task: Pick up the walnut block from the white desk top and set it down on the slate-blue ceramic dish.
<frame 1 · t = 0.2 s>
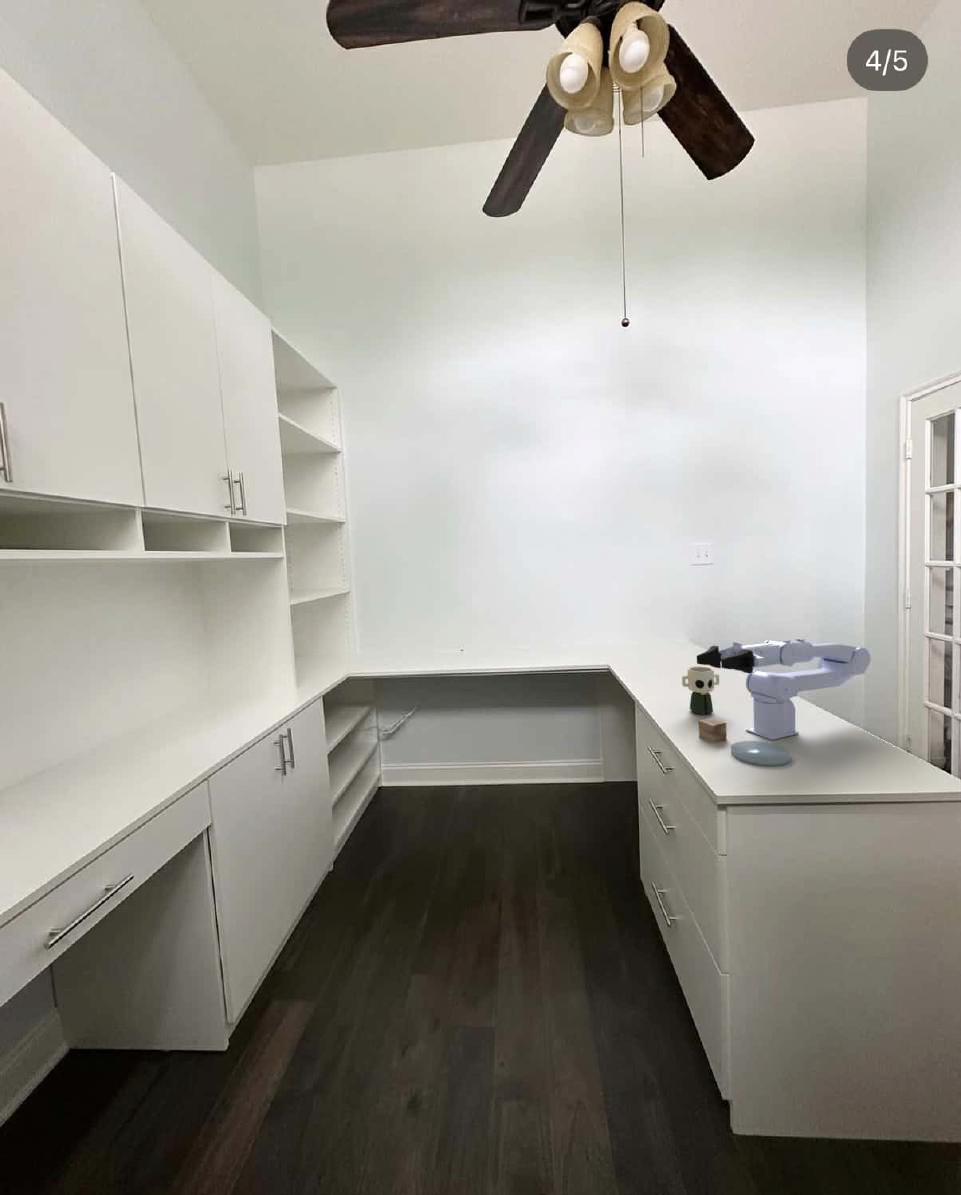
hand: (709, 661, 121), 21 cm above the worktop, tool horizontal, fingers open, 7 cm apart
slate dish: (760, 755, 116), on the worktop
walnut block: (712, 738, 127), on the worktop
character mug: (701, 712, 148), on the worktop
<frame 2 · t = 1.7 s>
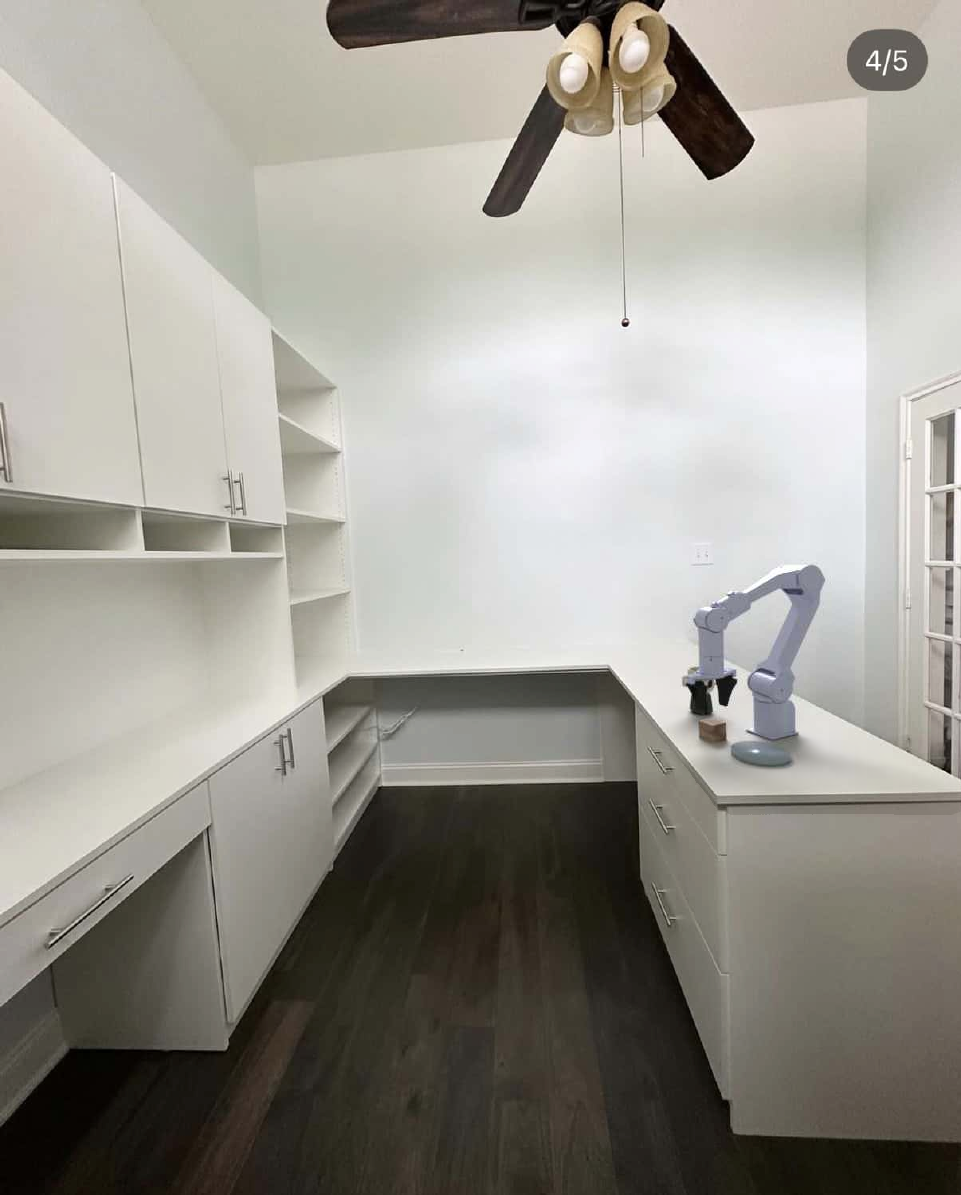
hand: (711, 707, 127), 8 cm above the worktop, tool pointing down, fingers open, 7 cm apart
nothing on the worktop moved.
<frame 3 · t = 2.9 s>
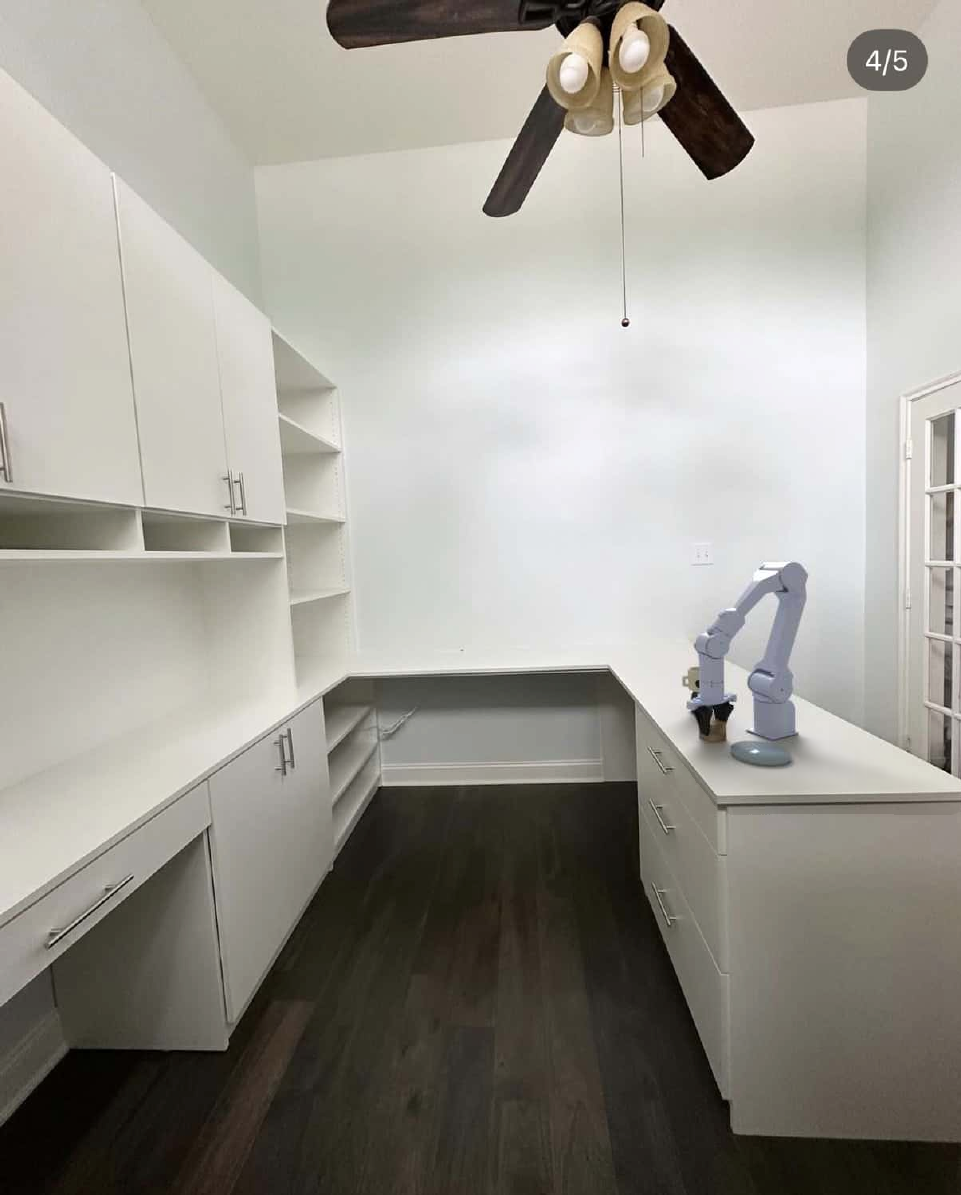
hand: (712, 733, 127), 1 cm above the worktop, tool pointing down, fingers closed on walnut block, 4 cm apart
walnut block: (712, 738, 127), on the worktop, touching gripper
everything else where it was.
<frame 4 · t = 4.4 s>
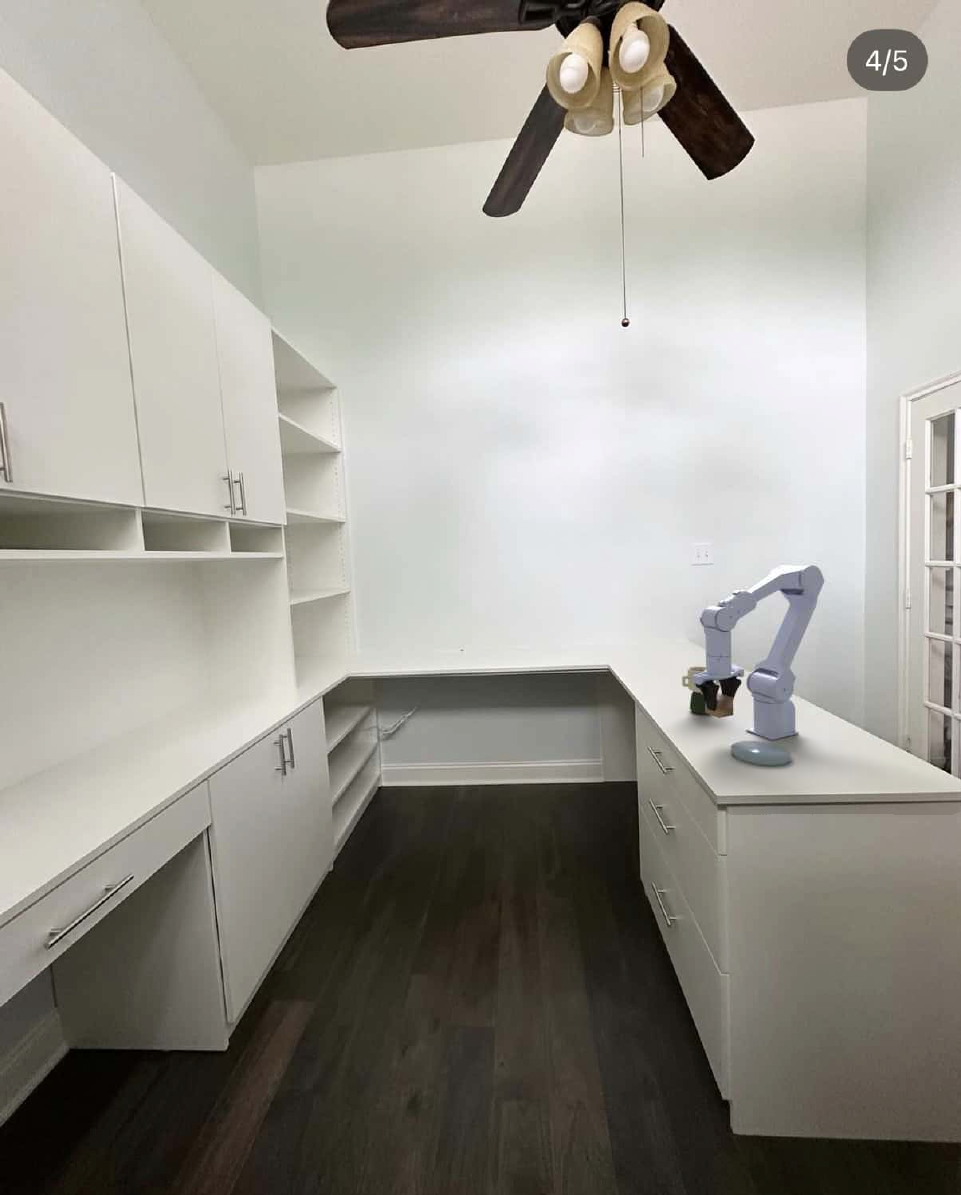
hand: (719, 708, 125), 8 cm above the worktop, tool pointing down, fingers closed on walnut block, 4 cm apart
walnut block: (719, 714, 125), point 7 cm above the worktop, touching gripper
everything else where it was.
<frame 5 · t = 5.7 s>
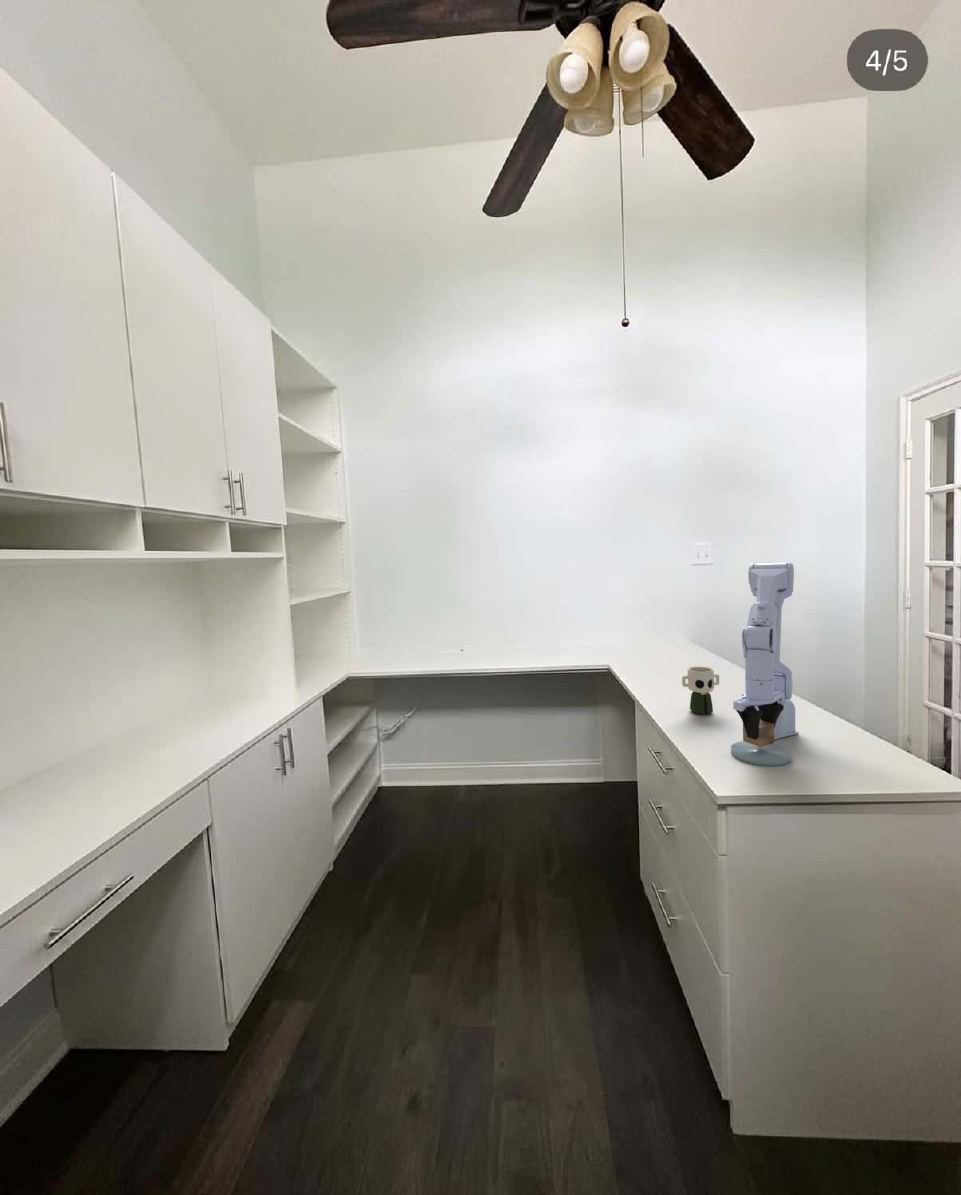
hand: (759, 736, 115), 5 cm above the worktop, tool pointing down, fingers closed on walnut block, 4 cm apart
walnut block: (758, 742, 116), point 3 cm above the worktop, touching gripper
everything else where it was.
when the fingers open (4 cm above the worktop, at t = 6.3 s): walnut block drops 1 cm, resting on slate dish.
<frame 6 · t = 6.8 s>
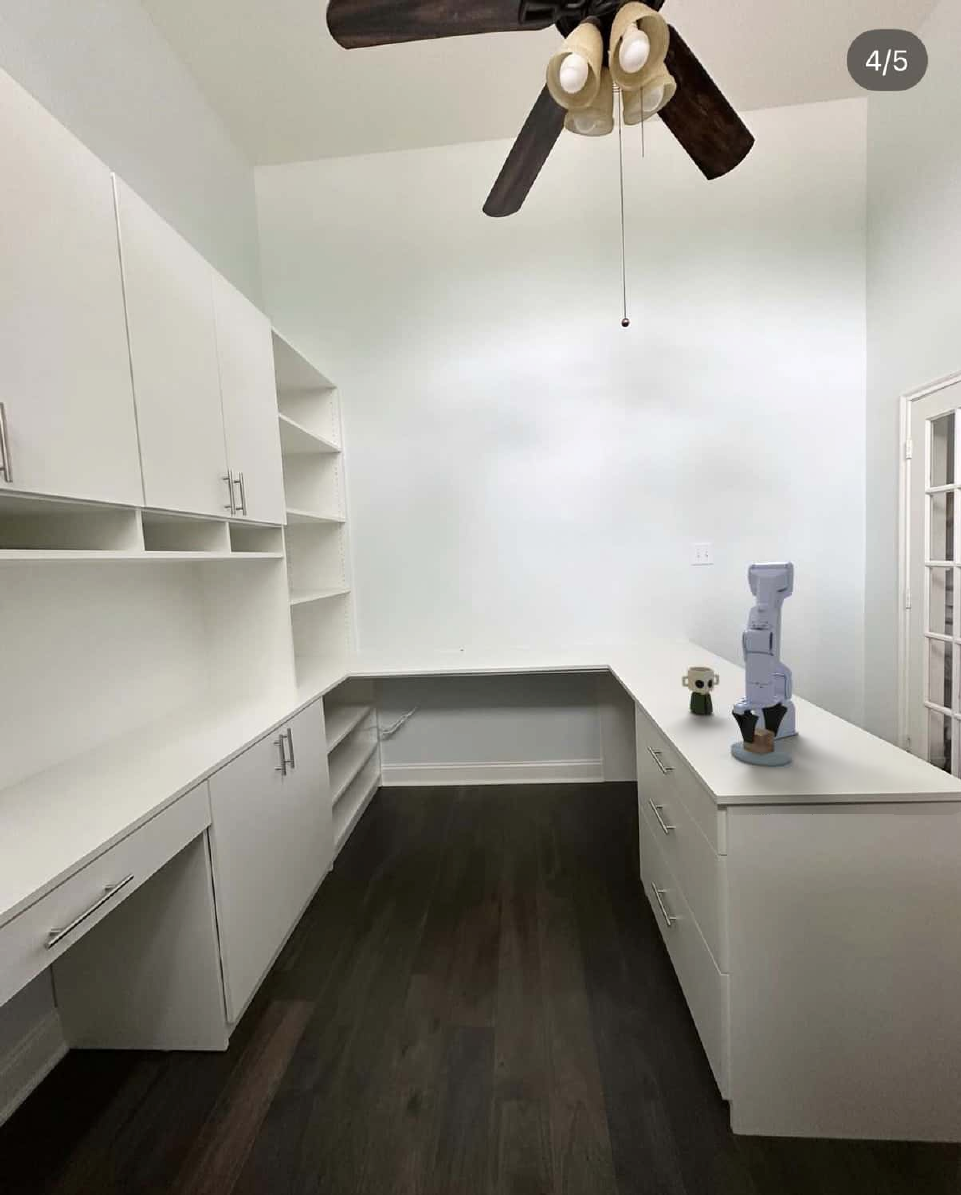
hand: (759, 739, 115), 4 cm above the worktop, tool pointing down, fingers open, 7 cm apart
walnut block: (758, 750, 116), point 1 cm above the worktop, touching slate dish
everything else where it was.
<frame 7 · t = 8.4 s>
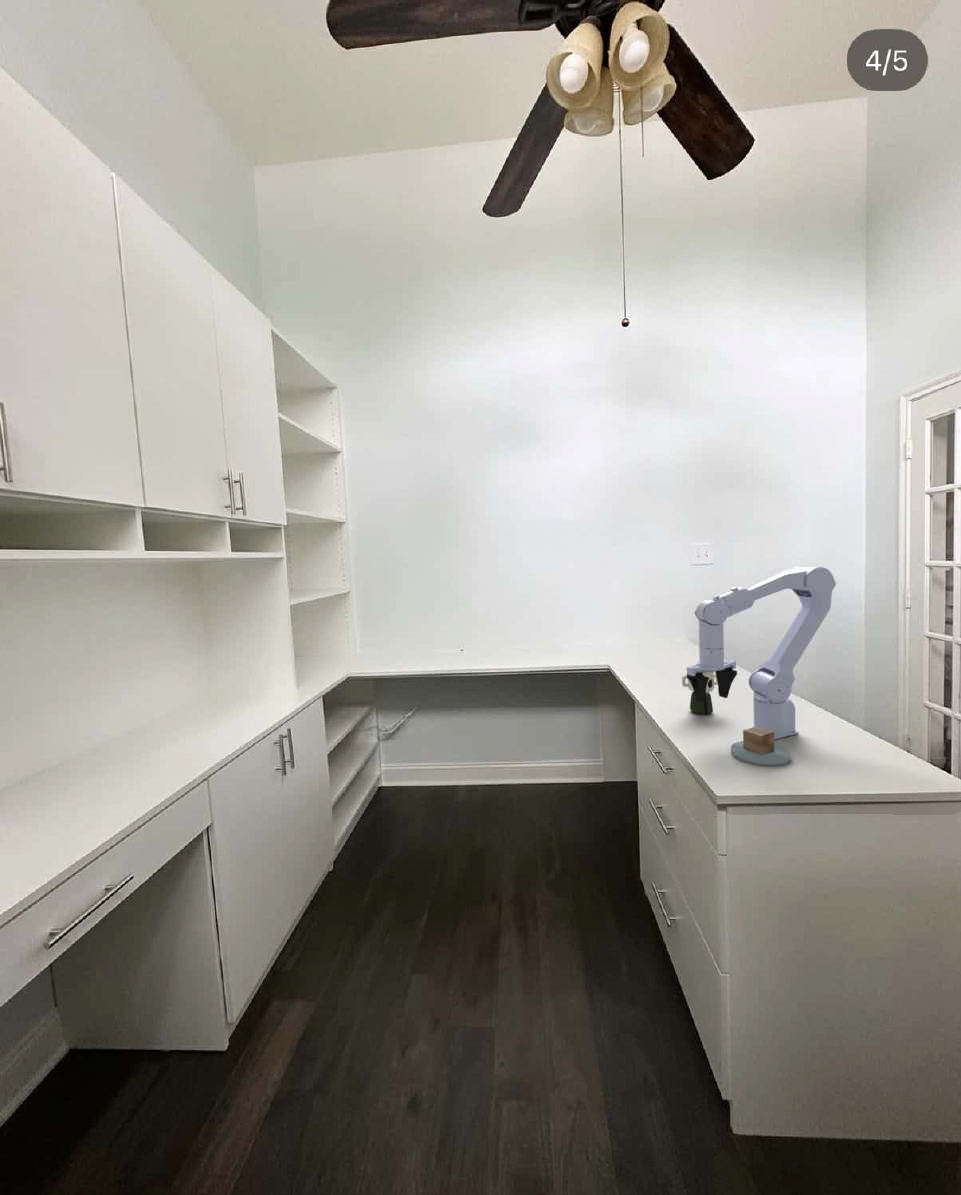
hand: (712, 699, 129), 9 cm above the worktop, tool pointing down, fingers open, 7 cm apart
nothing on the worktop moved.
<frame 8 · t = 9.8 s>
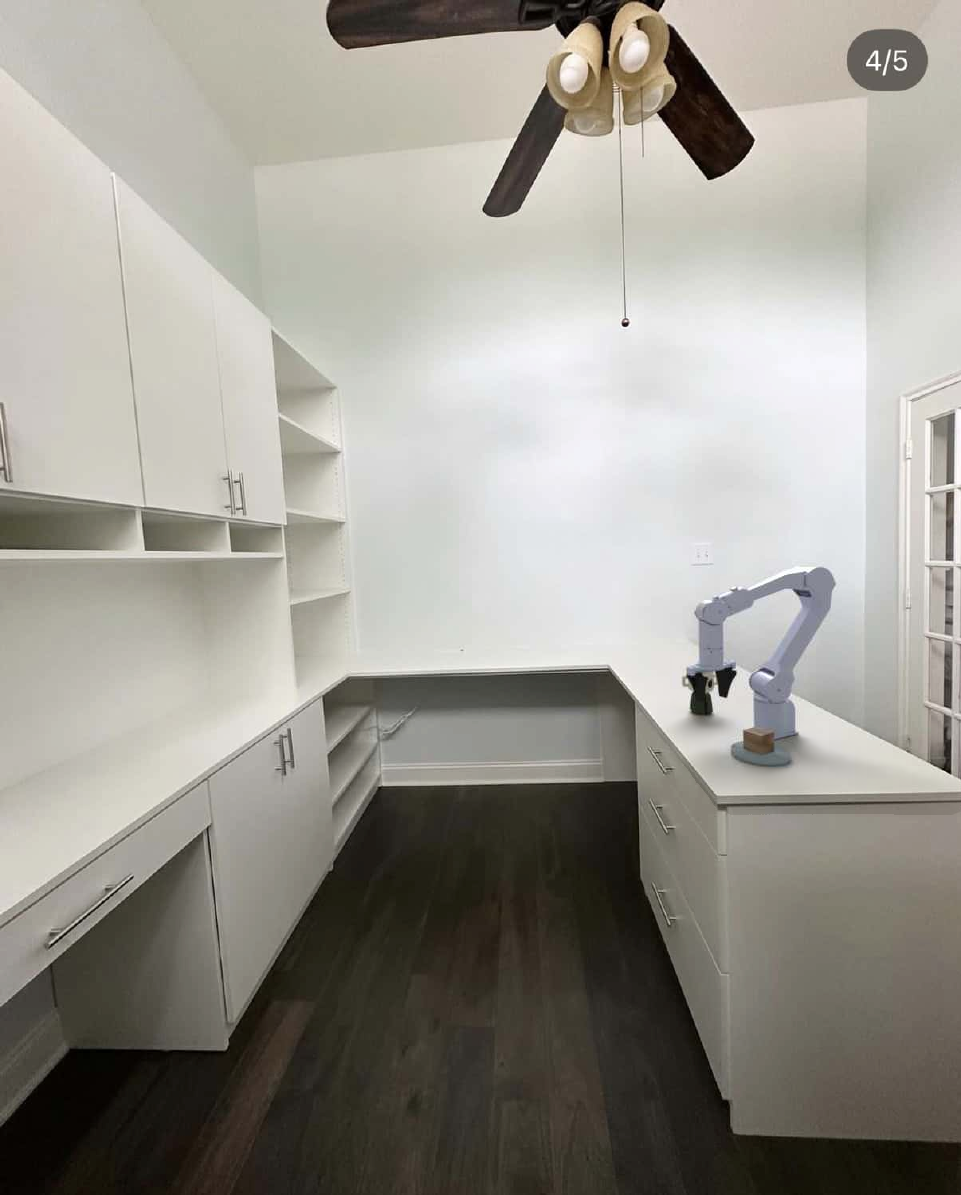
hand: (711, 699, 129), 9 cm above the worktop, tool pointing down, fingers open, 7 cm apart
nothing on the worktop moved.
at the end: walnut block inside the target area on the slate dish (0.3 cm from its centre), point 1.2 cm above the slate dish's base; walnut block tilted 0°; the gripper is holding nothing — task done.
